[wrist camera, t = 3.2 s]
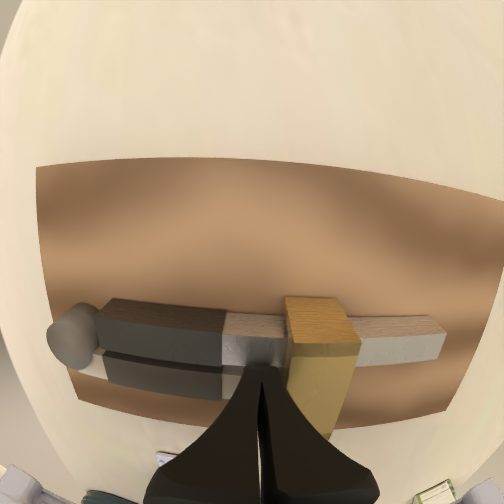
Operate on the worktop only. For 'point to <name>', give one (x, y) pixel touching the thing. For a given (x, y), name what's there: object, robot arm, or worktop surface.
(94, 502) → the canister
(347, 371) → the wooden u-shaped block
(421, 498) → the syrup box
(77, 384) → the tong board
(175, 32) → the worktop surface
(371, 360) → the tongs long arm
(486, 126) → the worktop surface
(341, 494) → the robot arm
